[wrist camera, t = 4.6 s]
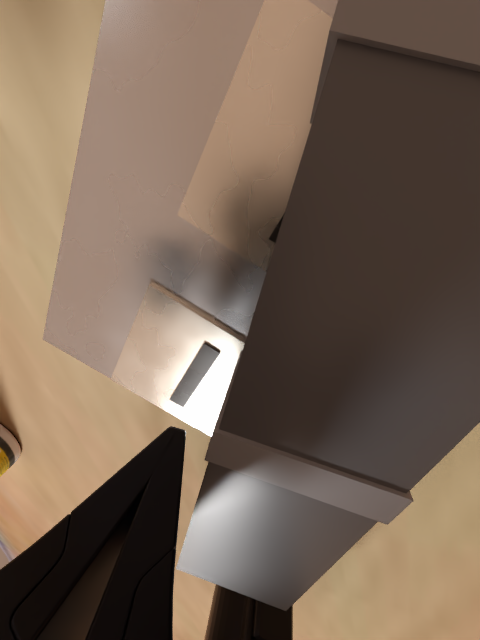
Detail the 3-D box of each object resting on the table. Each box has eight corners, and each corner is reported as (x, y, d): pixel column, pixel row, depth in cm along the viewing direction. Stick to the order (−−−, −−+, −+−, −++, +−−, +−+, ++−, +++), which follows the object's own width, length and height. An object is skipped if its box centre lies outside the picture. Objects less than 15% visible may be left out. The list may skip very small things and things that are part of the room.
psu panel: (260, 443, 15) (256, 468, 13) (61, 328, 14) (37, 342, 12) (652, 68, 6) (750, 31, 5) (205, -295, 5) (176, -463, 4)
